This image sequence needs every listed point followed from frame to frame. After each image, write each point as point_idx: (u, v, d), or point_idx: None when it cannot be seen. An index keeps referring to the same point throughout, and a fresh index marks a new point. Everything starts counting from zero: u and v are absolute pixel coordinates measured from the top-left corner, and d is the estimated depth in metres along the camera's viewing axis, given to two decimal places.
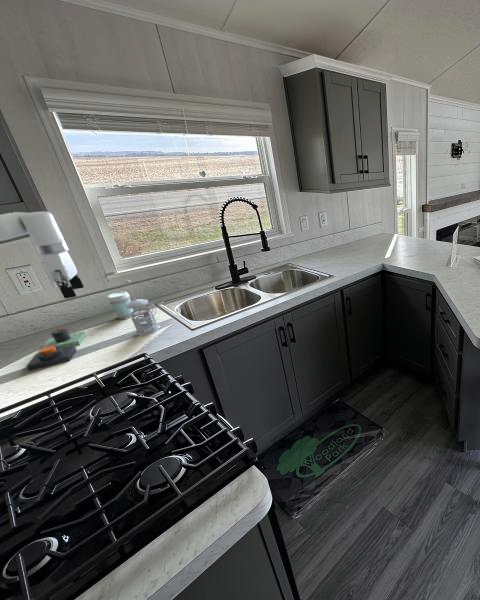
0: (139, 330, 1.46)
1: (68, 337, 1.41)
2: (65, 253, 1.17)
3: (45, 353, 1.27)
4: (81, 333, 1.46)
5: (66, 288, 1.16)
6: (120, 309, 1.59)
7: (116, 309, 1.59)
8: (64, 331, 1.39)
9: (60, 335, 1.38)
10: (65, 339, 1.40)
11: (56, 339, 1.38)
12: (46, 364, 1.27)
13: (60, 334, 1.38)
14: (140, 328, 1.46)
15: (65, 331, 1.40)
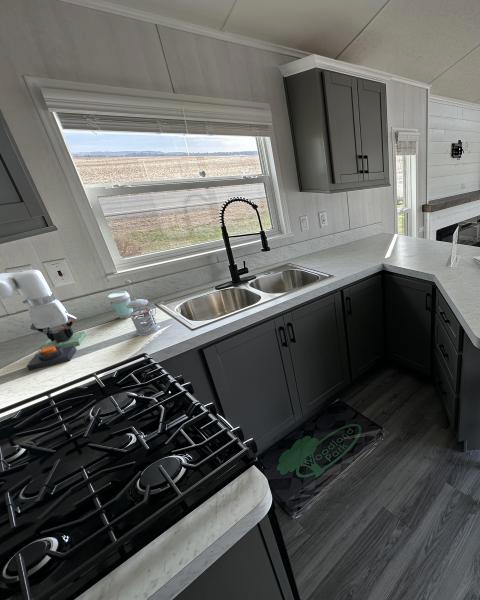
0: (139, 330, 1.46)
1: (68, 337, 1.41)
2: None
3: (45, 353, 1.27)
4: (81, 333, 1.46)
5: (70, 327, 1.41)
6: (120, 309, 1.59)
7: (116, 309, 1.59)
8: (64, 331, 1.39)
9: (60, 335, 1.38)
10: (65, 339, 1.40)
11: (56, 339, 1.38)
12: (46, 364, 1.27)
13: (60, 334, 1.38)
14: (140, 328, 1.46)
15: None
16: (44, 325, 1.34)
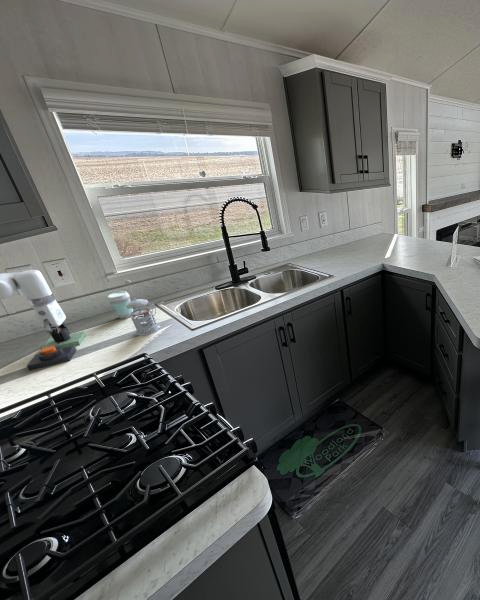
0: (139, 330, 1.46)
1: None
2: None
3: (45, 353, 1.27)
4: (81, 333, 1.46)
5: None
6: (120, 309, 1.59)
7: (116, 309, 1.59)
8: None
9: (67, 331, 1.41)
10: None
11: (67, 336, 1.40)
12: (46, 364, 1.27)
13: None
14: (140, 328, 1.46)
15: None
16: (60, 321, 1.37)
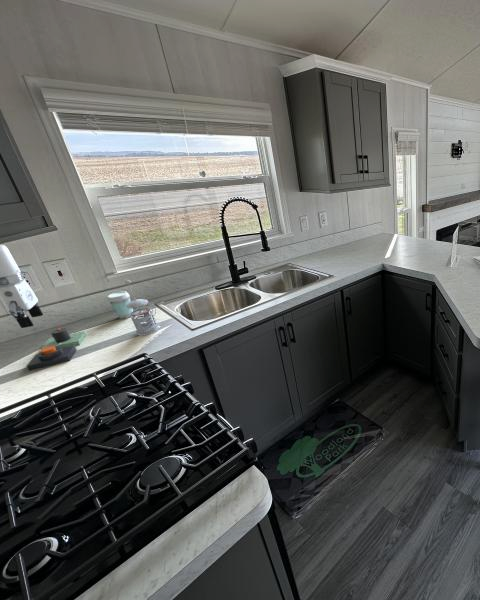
0: (139, 330, 1.46)
1: None
2: None
3: (45, 353, 1.27)
4: (81, 333, 1.46)
5: None
6: (120, 309, 1.59)
7: (116, 309, 1.59)
8: None
9: (67, 331, 1.41)
10: None
11: (67, 336, 1.41)
12: (46, 364, 1.27)
13: None
14: (140, 328, 1.46)
15: None
16: (31, 304, 1.21)
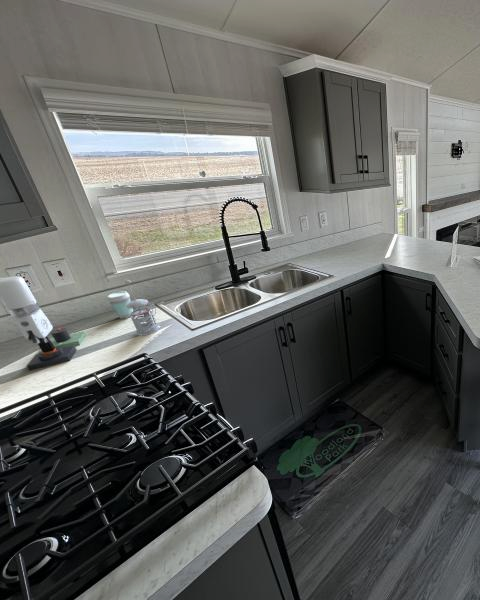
0: (139, 330, 1.46)
1: None
2: None
3: None
4: (81, 333, 1.46)
5: None
6: (120, 309, 1.59)
7: (116, 309, 1.59)
8: None
9: (67, 331, 1.41)
10: None
11: (67, 336, 1.41)
12: (46, 364, 1.27)
13: None
14: (140, 328, 1.46)
15: None
16: (46, 332, 1.25)
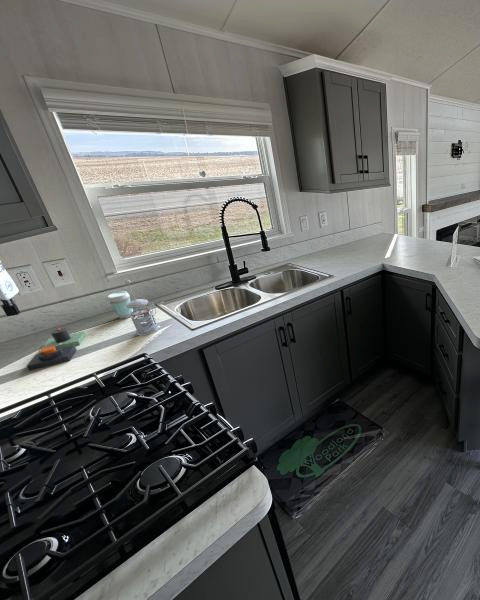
0: (139, 330, 1.46)
1: None
2: None
3: (45, 353, 1.27)
4: (81, 333, 1.46)
5: None
6: (120, 309, 1.59)
7: (116, 309, 1.59)
8: None
9: (67, 331, 1.41)
10: None
11: (67, 336, 1.41)
12: (46, 364, 1.27)
13: None
14: (140, 328, 1.46)
15: None
16: (10, 295, 1.21)
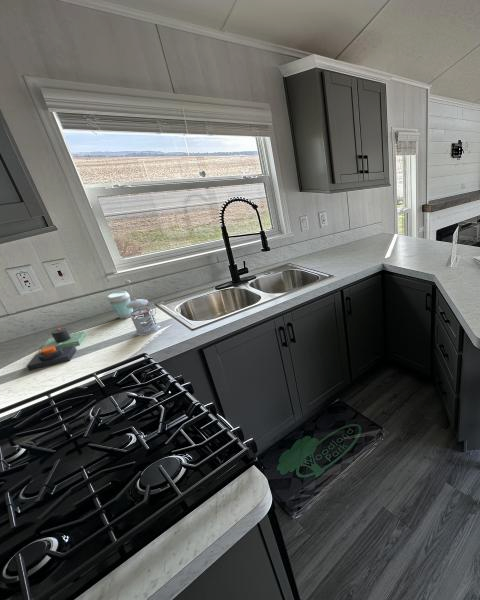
0: (139, 330, 1.46)
1: None
2: None
3: (45, 353, 1.27)
4: (81, 333, 1.46)
5: None
6: (120, 309, 1.59)
7: (116, 309, 1.59)
8: None
9: (67, 331, 1.41)
10: None
11: (67, 336, 1.41)
12: (46, 364, 1.27)
13: None
14: (140, 328, 1.46)
15: None
16: None
